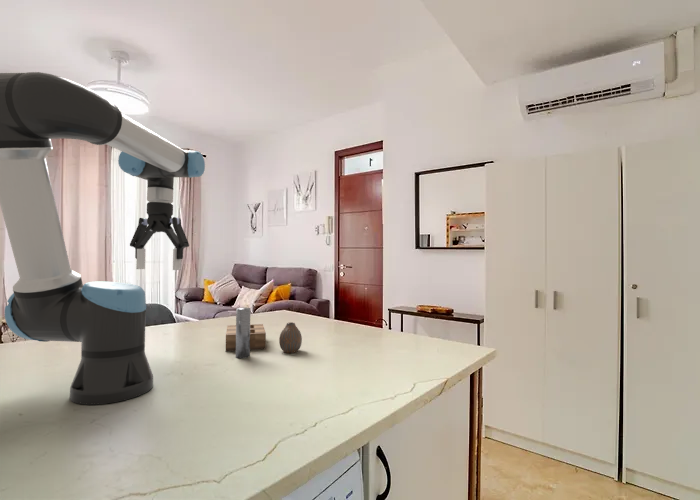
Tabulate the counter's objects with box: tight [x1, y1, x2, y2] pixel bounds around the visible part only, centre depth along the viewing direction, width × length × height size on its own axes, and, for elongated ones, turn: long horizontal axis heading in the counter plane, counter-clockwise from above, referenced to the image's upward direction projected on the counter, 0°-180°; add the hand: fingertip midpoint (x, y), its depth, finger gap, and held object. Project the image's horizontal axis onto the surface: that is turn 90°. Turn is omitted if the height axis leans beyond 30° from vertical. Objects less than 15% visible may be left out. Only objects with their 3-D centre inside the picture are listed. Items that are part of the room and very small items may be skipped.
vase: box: [278, 321, 303, 354], centre depth 116 cm, size 7×7×9 cm
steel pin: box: [235, 307, 251, 359], centre depth 110 cm, size 4×4×14 cm
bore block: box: [225, 323, 267, 352], centre depth 125 cm, size 16×12×5 cm
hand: (158, 269), depth 119 cm, fingers open, 13 cm apart
